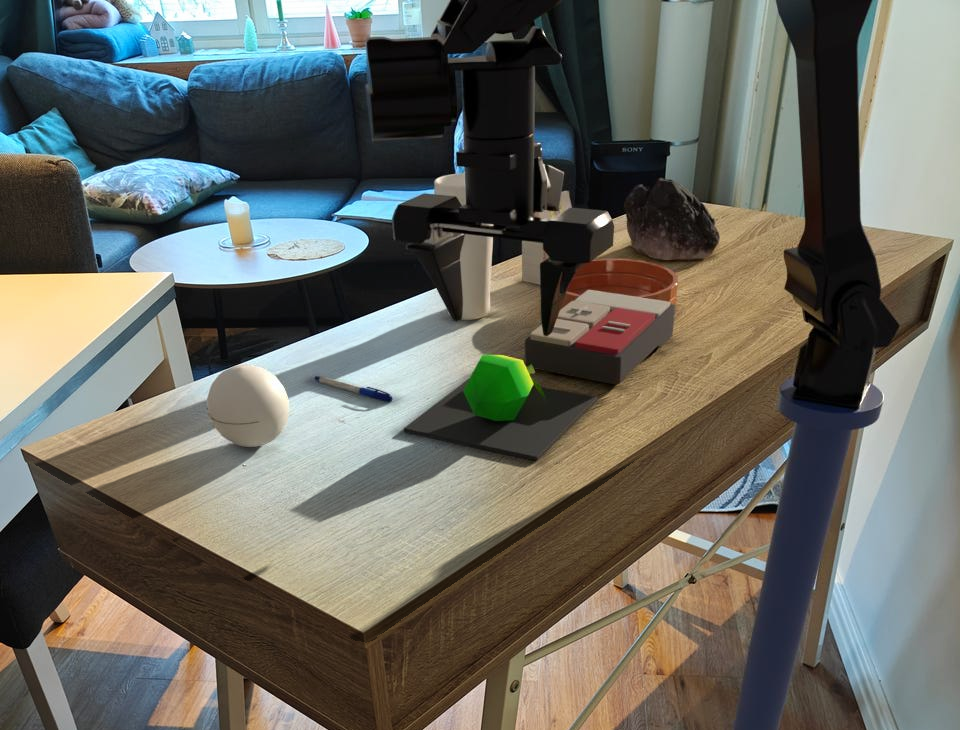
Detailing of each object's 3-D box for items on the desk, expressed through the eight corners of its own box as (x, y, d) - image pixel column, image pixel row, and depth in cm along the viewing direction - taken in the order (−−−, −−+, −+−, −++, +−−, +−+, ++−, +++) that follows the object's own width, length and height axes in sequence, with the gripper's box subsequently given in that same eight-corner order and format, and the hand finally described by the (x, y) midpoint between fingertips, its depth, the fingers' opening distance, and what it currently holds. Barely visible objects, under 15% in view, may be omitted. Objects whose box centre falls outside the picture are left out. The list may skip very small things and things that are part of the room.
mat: (597, 400, 89) (597, 396, 88) (537, 461, 79) (537, 457, 79) (474, 378, 94) (473, 374, 94) (403, 432, 85) (403, 428, 84)
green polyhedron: (477, 352, 79) (533, 320, 84) (438, 386, 84) (493, 353, 89) (522, 421, 80) (574, 385, 86) (480, 450, 85) (532, 414, 90)
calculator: (522, 333, 93) (586, 283, 102) (523, 372, 95) (585, 320, 105) (619, 350, 88) (677, 297, 97) (617, 391, 91) (673, 335, 100)
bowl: (691, 295, 112) (695, 266, 110) (648, 337, 101) (651, 306, 99) (577, 281, 118) (578, 253, 116) (525, 318, 107) (525, 289, 105)
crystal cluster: (734, 248, 129) (741, 171, 124) (700, 265, 120) (706, 182, 115) (648, 245, 136) (651, 171, 130) (609, 260, 126) (611, 182, 121)
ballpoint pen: (395, 400, 91) (394, 391, 90) (389, 404, 90) (389, 394, 89) (317, 380, 95) (316, 371, 95) (312, 383, 95) (310, 374, 94)
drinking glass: (433, 321, 108) (424, 185, 98) (451, 303, 113) (444, 171, 103) (487, 325, 106) (483, 187, 97) (502, 306, 111) (500, 173, 102)
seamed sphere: (266, 418, 88) (252, 345, 83) (310, 441, 84) (298, 365, 79) (175, 453, 83) (155, 377, 78) (218, 480, 78) (199, 401, 74)
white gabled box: (522, 280, 119) (521, 198, 113) (554, 268, 123) (556, 188, 116) (543, 285, 117) (544, 203, 111) (575, 273, 121) (578, 192, 114)
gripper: (644, 122, 73) (630, 313, 83) (448, 111, 81) (456, 288, 90) (591, 148, 66) (583, 354, 76) (380, 133, 73) (397, 324, 83)
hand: (501, 327), depth 81 cm, fingers open, 9 cm apart
